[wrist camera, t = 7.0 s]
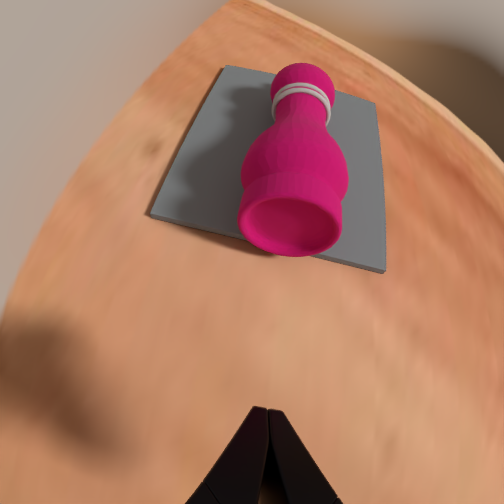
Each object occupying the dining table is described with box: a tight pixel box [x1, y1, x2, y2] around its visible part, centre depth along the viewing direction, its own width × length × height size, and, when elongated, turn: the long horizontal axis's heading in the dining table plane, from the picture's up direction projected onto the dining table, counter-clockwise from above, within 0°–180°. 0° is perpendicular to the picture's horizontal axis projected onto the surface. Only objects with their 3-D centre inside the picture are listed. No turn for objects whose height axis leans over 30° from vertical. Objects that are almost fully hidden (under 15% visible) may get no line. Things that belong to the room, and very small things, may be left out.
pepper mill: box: [237, 63, 349, 257], centre depth 24 cm, size 7×7×20 cm
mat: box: [150, 65, 386, 274], centre depth 28 cm, size 22×18×1 cm
